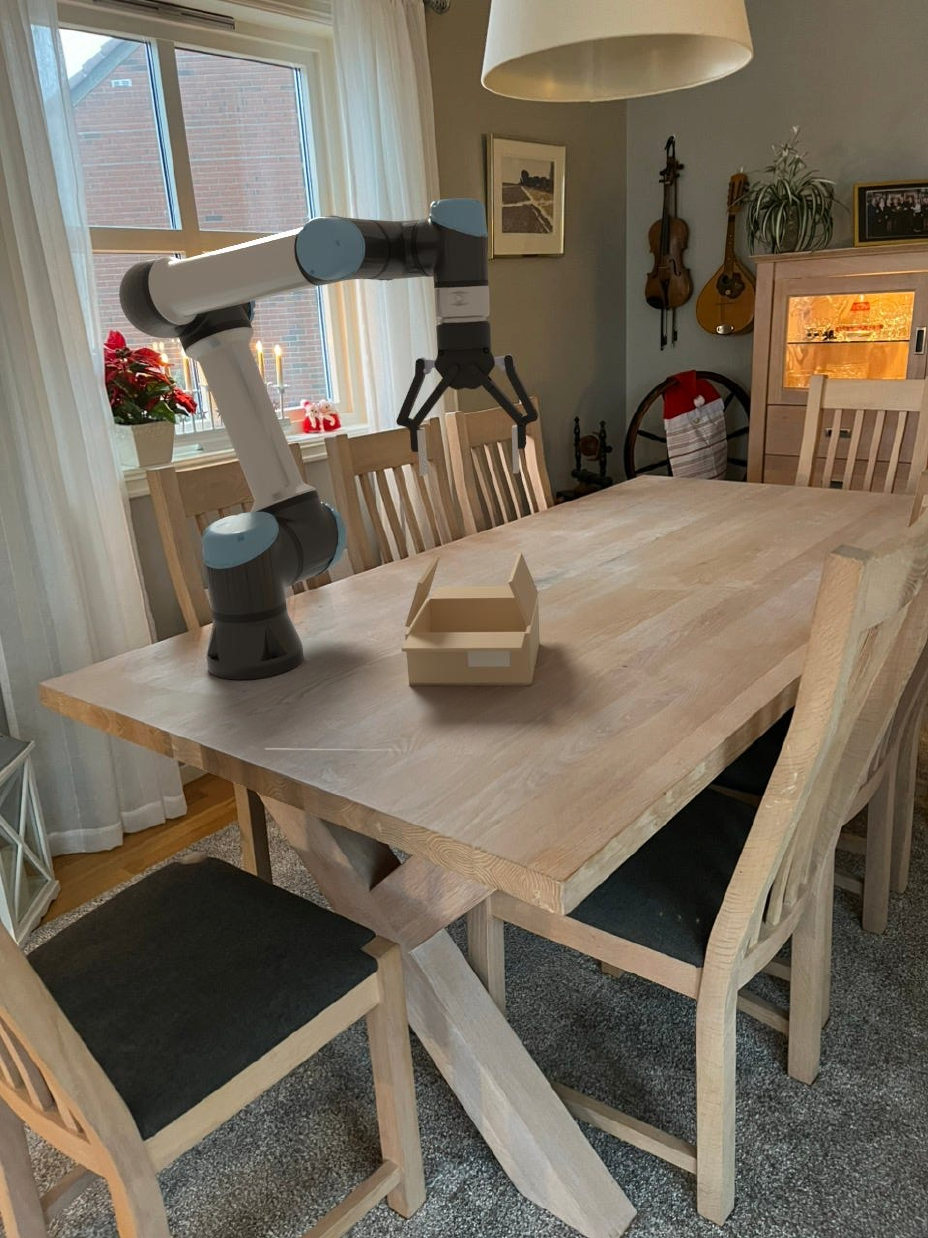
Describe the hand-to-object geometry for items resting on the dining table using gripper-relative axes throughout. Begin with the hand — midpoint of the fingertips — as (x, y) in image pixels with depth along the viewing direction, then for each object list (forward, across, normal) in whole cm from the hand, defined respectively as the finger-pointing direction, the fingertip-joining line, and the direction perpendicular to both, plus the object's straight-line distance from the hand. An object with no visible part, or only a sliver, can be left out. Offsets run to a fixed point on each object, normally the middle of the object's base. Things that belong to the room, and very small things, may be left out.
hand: (469, 473), depth 141 cm
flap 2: (+21, +9, -1) cm, 23 cm away
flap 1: (+21, -9, -1) cm, 23 cm away
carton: (+29, 0, -1) cm, 29 cm away
